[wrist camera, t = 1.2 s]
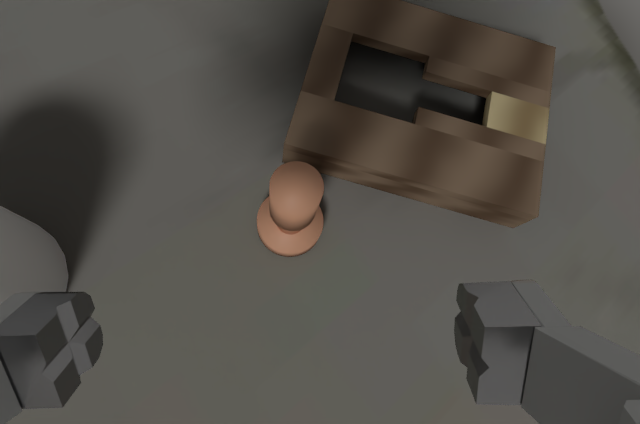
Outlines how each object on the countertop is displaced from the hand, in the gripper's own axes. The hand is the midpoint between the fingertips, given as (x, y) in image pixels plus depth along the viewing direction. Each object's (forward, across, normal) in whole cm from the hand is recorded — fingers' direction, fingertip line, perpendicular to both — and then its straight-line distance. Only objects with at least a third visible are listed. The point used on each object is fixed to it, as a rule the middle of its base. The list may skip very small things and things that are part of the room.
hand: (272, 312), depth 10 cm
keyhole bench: (+31, -8, +1) cm, 32 cm away
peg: (+23, +3, +8) cm, 24 cm away
